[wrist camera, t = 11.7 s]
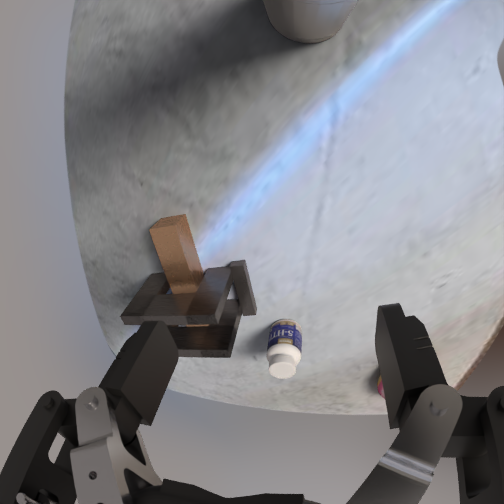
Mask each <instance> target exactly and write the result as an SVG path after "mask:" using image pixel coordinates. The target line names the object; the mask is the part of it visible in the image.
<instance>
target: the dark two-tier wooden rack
mask: <svg viewBox="0 0 504 504" xmlns="http://www.w3.org/2000/svg"><path fill="white" fill-rule="evenodd" d="M233 281H234V284H235V288H236V292H237V295H238V299H230V300H227V297H228V294H229V291H230V288H231V285H232V282H233ZM169 289H170V285H169V283H168V280H167V277H166V275H165V273H154V274H151V275H150V277H149V278H148V279H147V280H146V282H145V283H144V284H143V286H142V287H141V288H140V290H139V291H138V292H137V294H136V295H135V297H134V298H133V299H132V301H131V302H130V303H129V305H128V306H127V307H126V309H125V310H124V312H123V313H122V314H121V316H120V317H121V319H122V321H123V322H124V324H125V325H142V323H143V322H144V321H158V320H161V321H164V322H165V324H166V325H167V327H168V330H169V332H170V334H171V336H172V338H173V340H174V342H175V344H176V346H177V348H178V354H179V357H214V358H230V357H231V353H232V349H233V345H234V342H235V338H236V334H237V330H238V326H239V323H240V319H241V315H242V313H243V316H249V315H256V311H257V307H256V303H255V299H254V295H253V291H252V286H251V282H250V278H249V274H248V270H247V266H246V261H245V260H241V261H232V262H231V265H230V266H227V267H217V268H208V270H207V272H206V274H205V276H204V277H203V279H202V281H201V283H200V285H199V287H198V289H197V291H196V293H180V294H166V293H167V292H168V290H169ZM205 324H209V326H188V327H178V325H205Z"/></svg>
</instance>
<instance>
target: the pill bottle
mask: <svg viewBox="0 0 504 504" xmlns="http://www.w3.org/2000/svg"><path fill="white" fill-rule="evenodd" d="M301 346H302V329H301V327H300V325H299V324H298V323H297V322H295V321H293V320H289V319H283V320H279V321H277V322H275V323H274V324H273V325H272V326H271V329H270V335H269V342H268V349H267V360H268V361H269V372H270V374H271V375H272V376H274V377H277V378H289V377H292V376H293V375H294V374H295V372H296V365H297V364H298V363H299V361H300V359H301Z"/></svg>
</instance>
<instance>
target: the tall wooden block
mask: <svg viewBox="0 0 504 504" xmlns="http://www.w3.org/2000/svg"><path fill="white" fill-rule="evenodd" d="M149 231H150V234H151V236H152V239H153V242H154V245H155V248H156V251H157V253H158V256H159V259H160V262H161V264H162V267H163V270H164V272H165V275H166V277H167V280H168V283H169V285H170V288H171V290H172V293H173V294H180V293H196V291H197V289H198V287H199V285H200V283H201V281H202V279H203V277H204V273H203V270H202V267H201V264H200V260H199V257H198V254H197V251H196V248H195V244H194V241H193V238H192V234H191V231H190V228H189V224H188V221H187V217H186V214H183V215H177V216H171V217H166V218H161V219H160V220H159V221H158V222H157V223H156V224H155V225H153V226H152V227H151V228H150V229H149ZM186 326H187V327H188V326H209V324H205V325H186Z"/></svg>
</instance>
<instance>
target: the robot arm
mask: <svg viewBox="0 0 504 504" xmlns="http://www.w3.org/2000/svg"><path fill="white" fill-rule="evenodd" d="M357 1H358V0H263V2H264V5H265V8H266V12H267V15H268V18H269V20H270V22H271V24H272V26H273V27H274V28H275V29H276V30H277V31H278V32H279V33H280V34H282V35H283V36H285V37H287V38H289V39H291V40H294V41H297V42H302V43H317V42H322V41H325V40H327V39H330V38H331V37H333V36H334V35H336V33H337V32H338V31H339V30H340V29H341V27H342V25H343V24H344V22H345V21H346V19H347V18H348V16H349V14H350V13H351V11H352V9H353V8H354V6H355V4H356V3H357ZM375 349H376V355H377V360H378V364H379V369H380V374H381V379H382V384H383V389H384V395H385V400H386V406H387V412H388V418H389V425H390V429H393V428H399V430H400V432H399V434H398V436H397V437H396V439H395V440H394V442H393V444H392V445H391V447H390V448H389V450H388V451H387V452H386V454H385V455H384V456H383V457H382V458H381V460H380V461H379V462H378V464H377V465H376V467H375V468H374V469H373V471H372V472H371V473H370V475H369V476H368V478H367V479H366V480H365V481H364V483H363V484H362V485H361V486H360V488H359V489H358V490H357V491H356V493H355V494H354V495H353V496H352V497H351V499H350V500H349V501H348V502H347V503H346V504H418V503H419V501H420V500H421V498H422V496H423V495H424V493H425V491H426V490H427V488H428V486H429V485H430V483H431V481H432V478H433V475H434V474H433V472H434V470H435V467H436V465H437V464H438V462H439V460H440V458H441V457H456V463H457V471H458V481H459V493H460V504H504V386H500V387H498V388H496V389H494V390H493V391H492V392H491V394H490V395H489V396H488V397H466V396H462V395H460V394H459V393H458V391H457V390H455V389H454V388H453V387H451V386H449V385H448V384H447V382H446V380H445V377H444V374H443V371H442V368H441V366H440V363H439V360H438V358H437V355H436V353H435V350H434V348H433V347H432V343H431V340H430V338H429V336H428V333H427V331H426V328H425V326H424V324H423V323H422V322H421V321H420V320H418V319H417V318H416V317H415V316H408V317H405V315H404V312H403V310H402V307H401V305H400V304H399V303H396V304H389V305H382V306H379V307H378V312H377V324H376V334H375ZM178 357H179V354H178V348H177V346H176V344H175V342H174V340H173V338H172V336H171V334H170V332H169V330H168V327H167V325H166V324H165V322H164V321H161V320H158V321H144V322H143V323H142V325H141V326H140V328H139V330H138V331H137V333H134V334H133V335H132V336H131V337H130V338H129V339H128V340H126V342H125V343H124V345H123V347H122V348H121V350H120V352H119V353H118V355H117V356H116V360H114V361H113V363H112V365H111V366H110V368H109V370H108V371H107V373H106V375H105V376H104V378H103V380H102V381H101V383H100V385H99V387H91V388H88V389H86V390H84V391H83V392H82V393H81V394H80V395H79V396H78V398H77V399H64V398H63V397H62V396H61V395H60V393H59V392H57V391H49V392H47V393H45V394H43V395H42V396H41V398H40V399H39V400H38V402H37V404H36V406H35V407H34V409H33V411H32V413H31V414H30V416H29V418H28V420H27V422H26V423H25V425H24V427H23V429H22V431H21V433H20V435H19V437H18V438H17V440H16V442H15V445H14V446H13V448H12V450H11V452H10V454H9V456H8V459H7V461H6V463H5V465H4V467H3V469H2V472H1V474H0V504H74V503H75V500H76V498H77V499H78V503H79V504H320V503H317V502H313V501H309V500H305V499H304V495H303V494H267V493H265V494H259V495H252V496H244V497H235V498H225V497H222V496H219V495H217V494H214V493H212V492H209V491H207V490H204V489H202V488H200V487H197V486H195V485H191V484H186V483H181V482H177V481H172V480H168V479H163V482H162V481H161V479H160V478H159V476H158V475H157V474H156V473H155V471H154V469H153V467H152V465H151V462H150V459H149V457H148V454H147V451H146V448H145V445H144V442H143V439H142V436H141V433H140V431H139V430H138V427H139V425H140V424H144V425H149V426H151V424H152V422H153V420H154V417H155V415H156V412H157V410H158V407H159V405H160V403H161V400H162V398H163V395H164V393H165V391H166V388H167V386H168V383H169V381H170V379H171V376H172V374H173V372H174V369H175V367H176V364H177V362H178ZM57 433H59V434H60V435H62V436H63V437H64V438H65V441H64V444H63V446H62V448H61V450H60V452H59V455H58V457H57V459H56V461H55V463H54V464H53V463H52V462H51V461H50V460H49V457H48V452H49V450H50V447H51V445H52V443H53V441H54V439H55V437H56V435H57Z"/></svg>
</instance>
